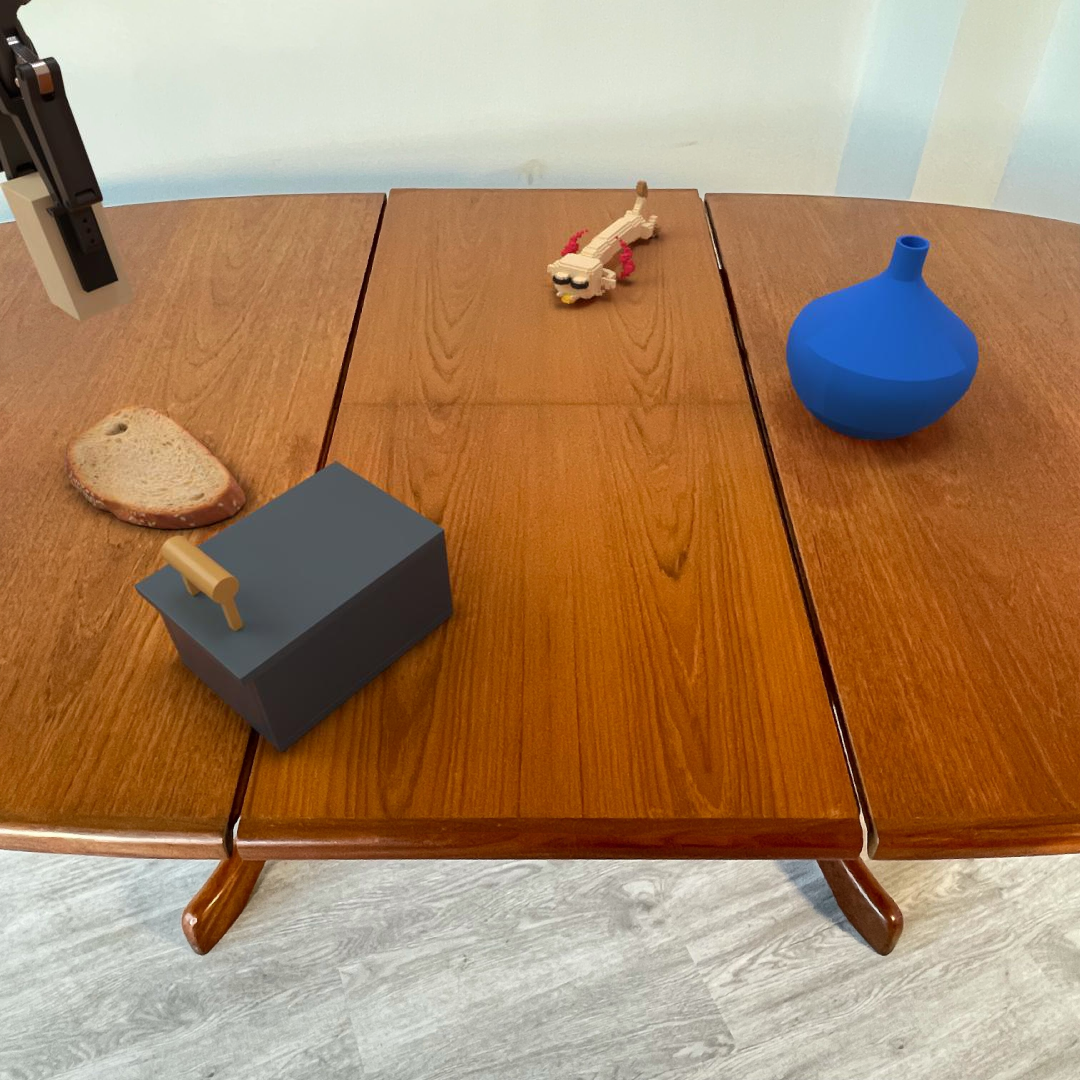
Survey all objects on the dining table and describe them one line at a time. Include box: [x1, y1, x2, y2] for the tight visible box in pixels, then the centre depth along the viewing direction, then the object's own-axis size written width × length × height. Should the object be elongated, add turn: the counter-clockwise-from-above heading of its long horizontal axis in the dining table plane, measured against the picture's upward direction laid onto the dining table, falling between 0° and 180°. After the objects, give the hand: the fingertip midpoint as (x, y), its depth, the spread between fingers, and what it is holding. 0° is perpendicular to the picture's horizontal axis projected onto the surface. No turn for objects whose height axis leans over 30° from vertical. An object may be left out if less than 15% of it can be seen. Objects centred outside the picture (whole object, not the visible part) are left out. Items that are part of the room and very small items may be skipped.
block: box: [0, 172, 137, 323], centre depth 70 cm, size 5×5×10 cm
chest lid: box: [133, 460, 446, 686], centre depth 63 cm, size 19×13×6 cm
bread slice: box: [64, 403, 247, 530], centre depth 86 cm, size 18×18×4 cm
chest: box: [159, 536, 454, 754], centre depth 69 cm, size 18×13×9 cm
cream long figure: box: [546, 180, 662, 305], centre depth 115 cm, size 10×9×25 cm
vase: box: [785, 234, 980, 441], centre depth 87 cm, size 18×18×19 cm
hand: (82, 273), depth 72 cm, fingers closed on block, 5 cm apart
